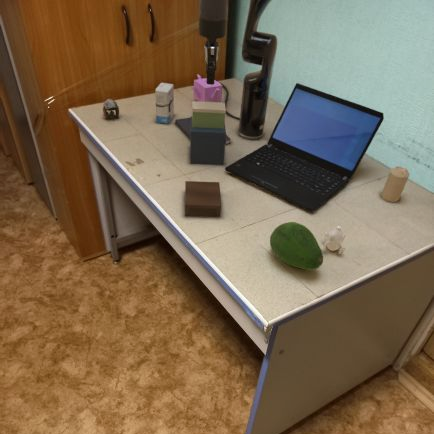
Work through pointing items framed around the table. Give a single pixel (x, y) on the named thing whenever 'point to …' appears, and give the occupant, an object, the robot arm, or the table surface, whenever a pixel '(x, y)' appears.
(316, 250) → the fruit
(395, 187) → the candle
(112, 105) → the helmet
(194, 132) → the blue box
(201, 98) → the teapot
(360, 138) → the laptop
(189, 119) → the notebook
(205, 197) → the low shelf
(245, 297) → the table surface
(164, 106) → the ink box
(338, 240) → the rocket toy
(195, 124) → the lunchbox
